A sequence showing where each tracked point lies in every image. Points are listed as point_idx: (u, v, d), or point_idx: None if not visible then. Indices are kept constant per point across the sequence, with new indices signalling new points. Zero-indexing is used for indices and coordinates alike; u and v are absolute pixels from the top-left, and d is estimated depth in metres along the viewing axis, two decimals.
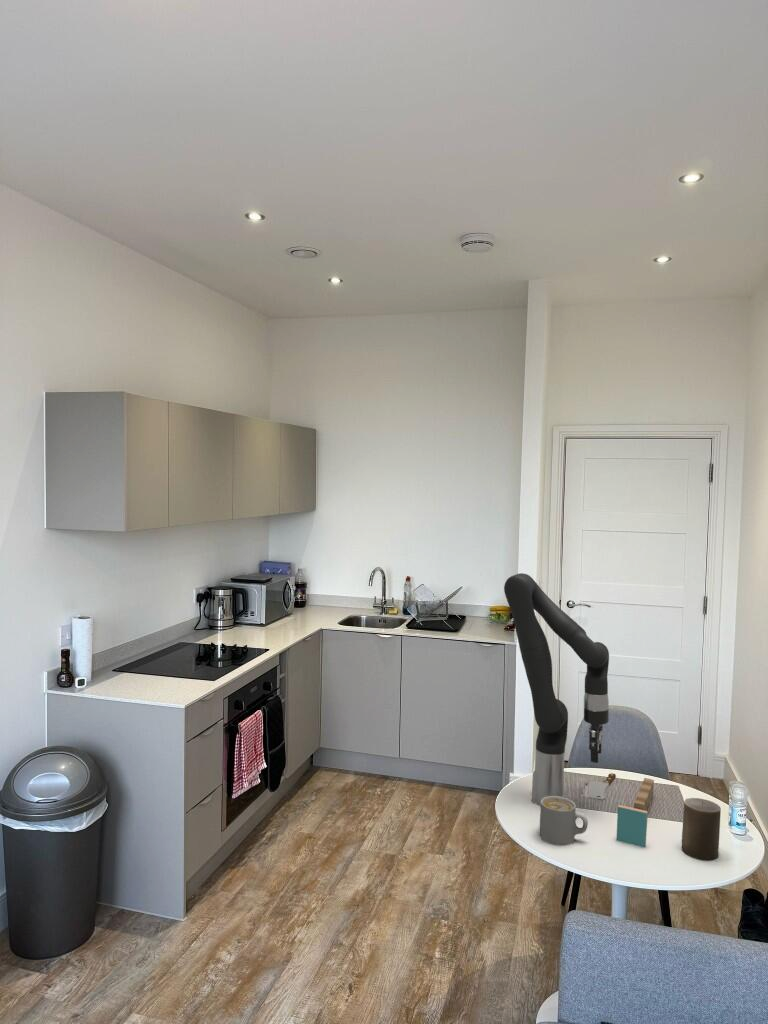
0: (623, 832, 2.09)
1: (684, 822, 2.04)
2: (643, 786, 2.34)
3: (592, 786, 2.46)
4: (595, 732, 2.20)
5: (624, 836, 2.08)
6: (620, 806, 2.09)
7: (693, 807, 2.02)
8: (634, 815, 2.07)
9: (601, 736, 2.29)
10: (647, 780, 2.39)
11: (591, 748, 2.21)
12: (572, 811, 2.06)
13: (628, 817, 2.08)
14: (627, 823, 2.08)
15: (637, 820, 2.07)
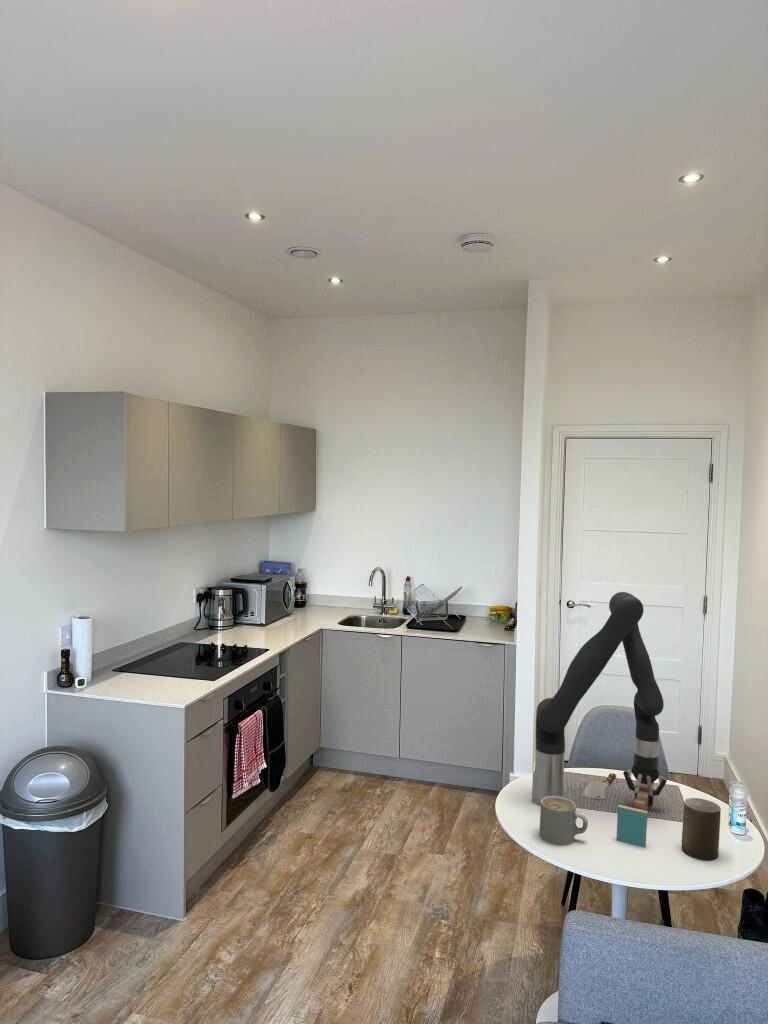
0: (623, 832, 2.09)
1: (684, 822, 2.04)
2: (643, 786, 2.34)
3: (592, 786, 2.46)
4: (666, 780, 2.29)
5: (624, 836, 2.08)
6: (620, 806, 2.09)
7: (693, 807, 2.02)
8: (634, 815, 2.07)
9: None
10: None
11: None
12: (572, 811, 2.06)
13: (628, 817, 2.08)
14: (627, 823, 2.08)
15: (637, 820, 2.07)
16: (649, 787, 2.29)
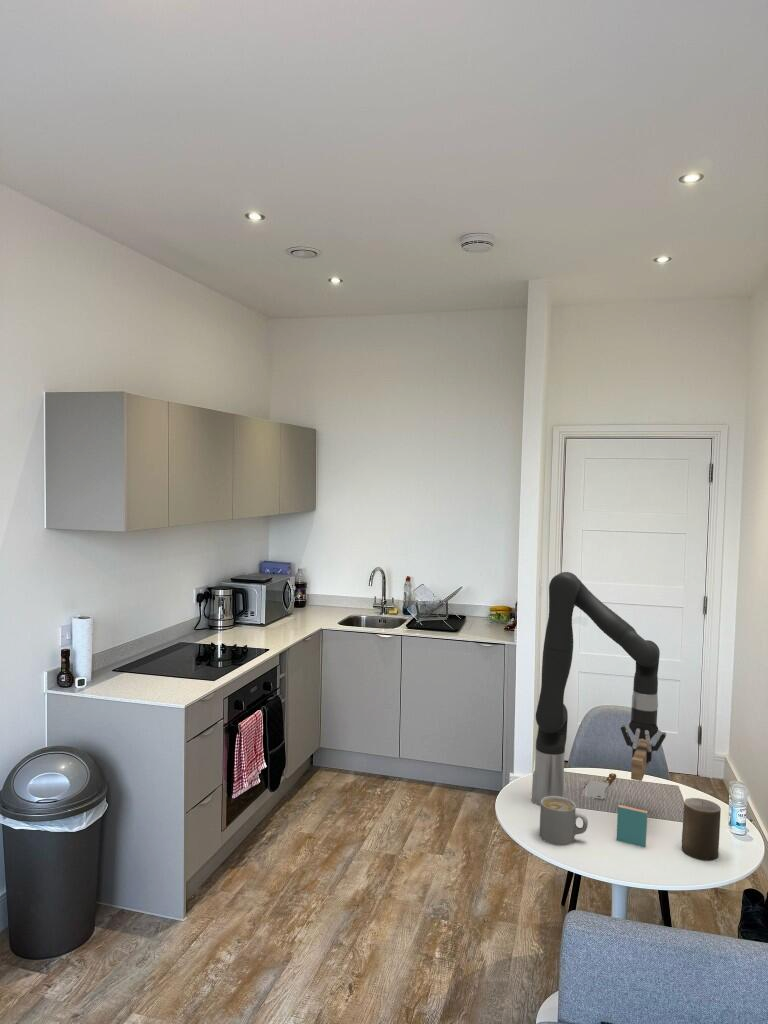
0: (623, 832, 2.09)
1: (684, 822, 2.04)
2: (641, 745, 2.25)
3: (592, 786, 2.46)
4: (665, 734, 2.19)
5: (624, 836, 2.08)
6: (620, 806, 2.09)
7: (693, 807, 2.02)
8: (634, 815, 2.07)
9: None
10: None
11: (657, 748, 2.19)
12: (572, 811, 2.06)
13: (628, 817, 2.08)
14: (627, 823, 2.08)
15: (637, 820, 2.07)
16: (647, 742, 2.19)
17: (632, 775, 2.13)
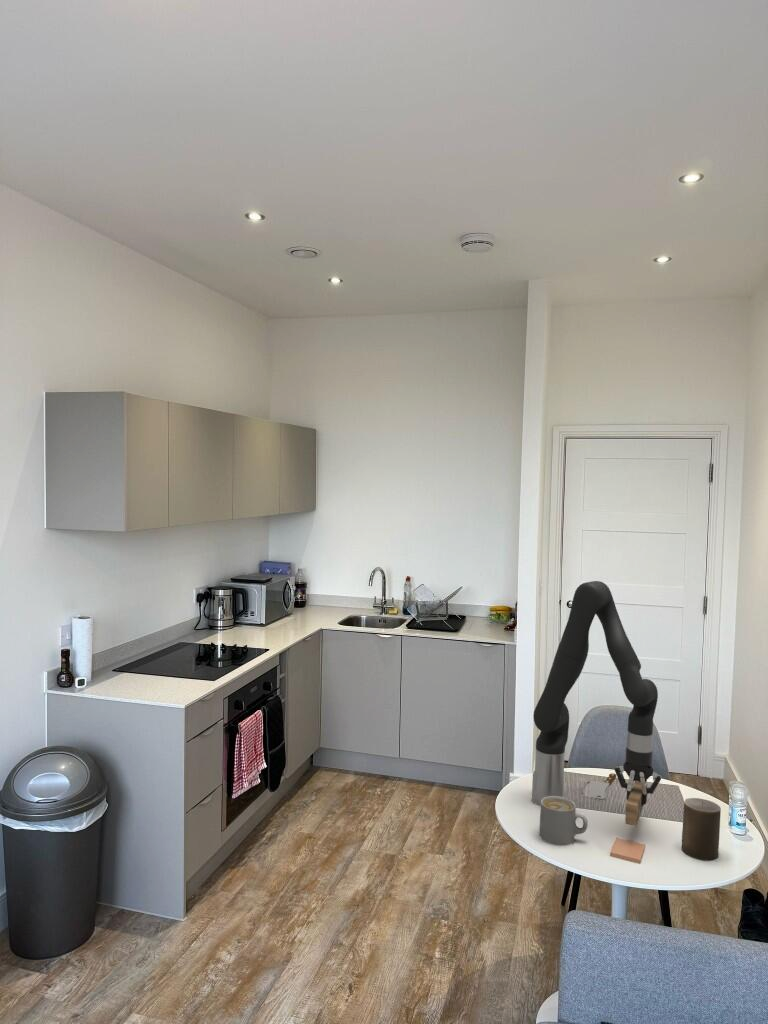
0: None
1: (684, 822, 2.04)
2: (636, 786, 2.18)
3: (592, 786, 2.47)
4: (661, 776, 2.12)
5: None
6: (612, 856, 2.00)
7: (693, 807, 2.02)
8: None
9: None
10: None
11: None
12: (572, 811, 2.06)
13: None
14: None
15: None
16: (642, 784, 2.12)
17: (626, 820, 2.06)
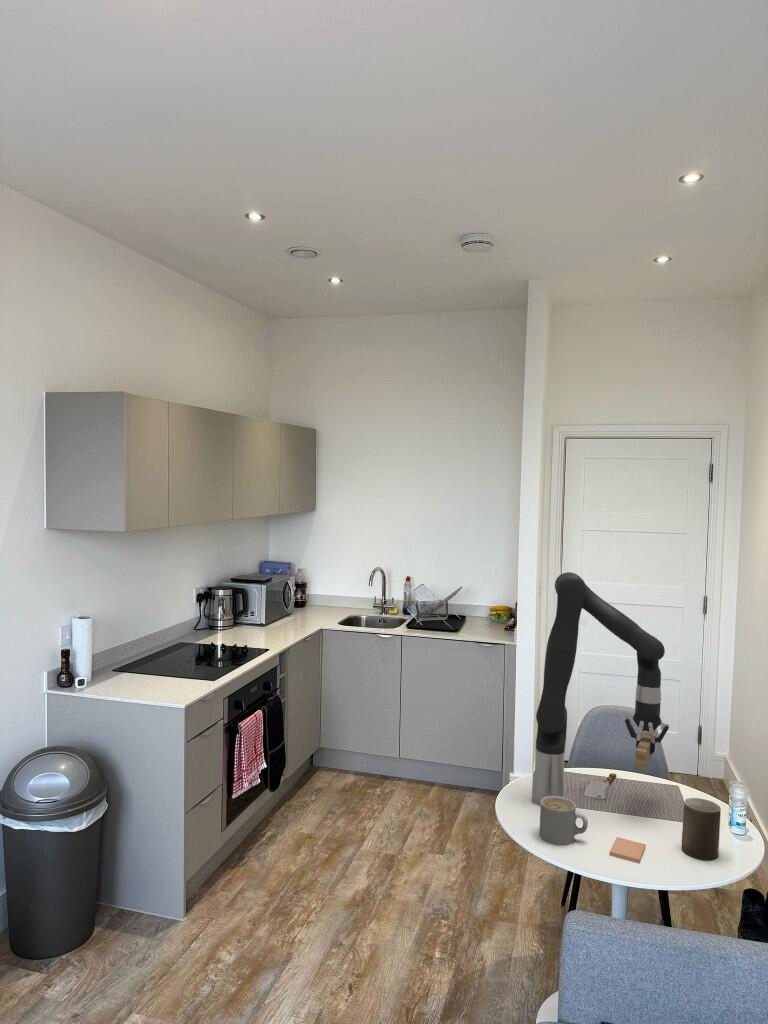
0: None
1: (684, 822, 2.04)
2: (645, 736, 2.32)
3: (593, 786, 2.47)
4: (668, 726, 2.26)
5: None
6: (611, 855, 2.00)
7: (693, 807, 2.02)
8: None
9: None
10: None
11: None
12: (572, 811, 2.06)
13: None
14: None
15: None
16: (651, 734, 2.26)
17: (636, 765, 2.20)
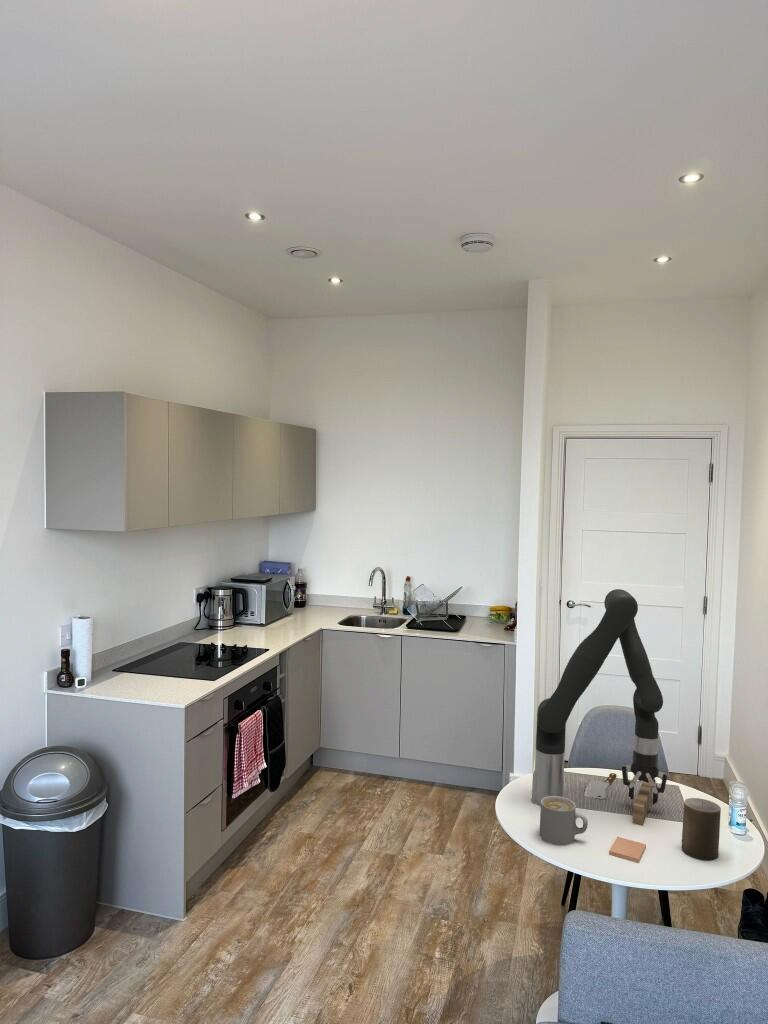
0: None
1: (684, 822, 2.04)
2: (643, 789, 2.32)
3: (593, 786, 2.47)
4: (667, 774, 2.27)
5: None
6: (611, 854, 2.01)
7: (693, 807, 2.02)
8: None
9: None
10: (646, 782, 2.38)
11: None
12: (572, 811, 2.06)
13: None
14: None
15: None
16: (651, 784, 2.27)
17: (634, 820, 2.20)
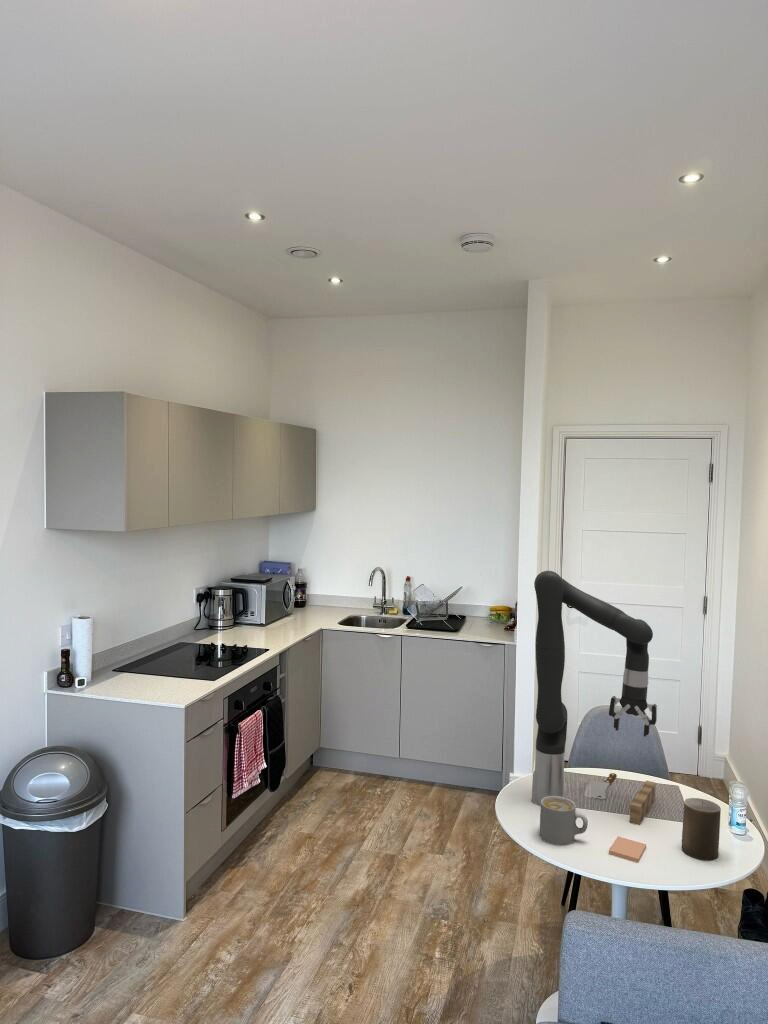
0: None
1: (684, 822, 2.04)
2: (643, 789, 2.32)
3: (593, 786, 2.47)
4: (656, 705, 2.26)
5: None
6: (610, 854, 2.01)
7: (693, 807, 2.02)
8: None
9: None
10: (649, 783, 2.37)
11: (655, 722, 2.25)
12: (572, 811, 2.06)
13: None
14: None
15: None
16: (642, 717, 2.25)
17: (631, 819, 2.21)
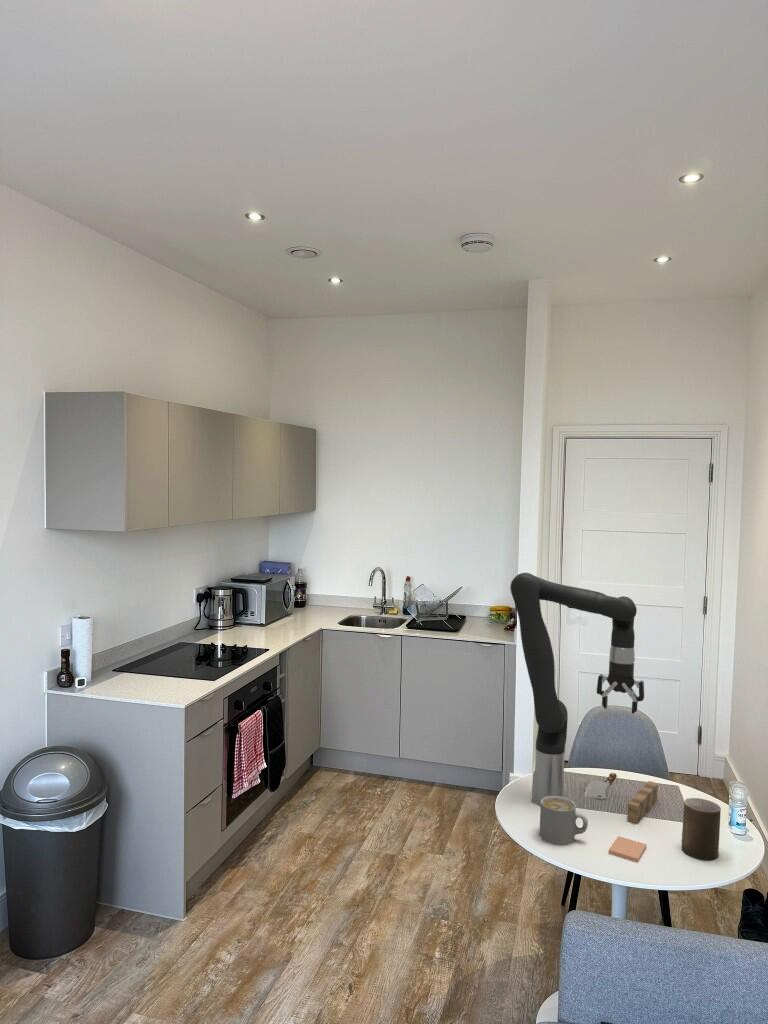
0: None
1: (684, 822, 2.04)
2: (644, 789, 2.32)
3: (593, 786, 2.47)
4: (643, 682, 2.26)
5: None
6: (610, 853, 2.01)
7: (693, 807, 2.02)
8: None
9: None
10: (651, 783, 2.37)
11: (643, 698, 2.25)
12: (572, 811, 2.06)
13: None
14: None
15: None
16: (629, 693, 2.25)
17: (628, 819, 2.21)
